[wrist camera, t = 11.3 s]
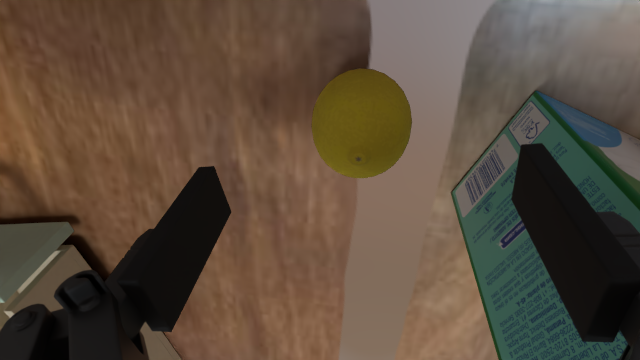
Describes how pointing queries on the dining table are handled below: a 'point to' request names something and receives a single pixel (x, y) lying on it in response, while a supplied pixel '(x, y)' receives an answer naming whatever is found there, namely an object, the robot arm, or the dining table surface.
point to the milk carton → (513, 239)
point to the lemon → (361, 123)
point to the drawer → (35, 265)
